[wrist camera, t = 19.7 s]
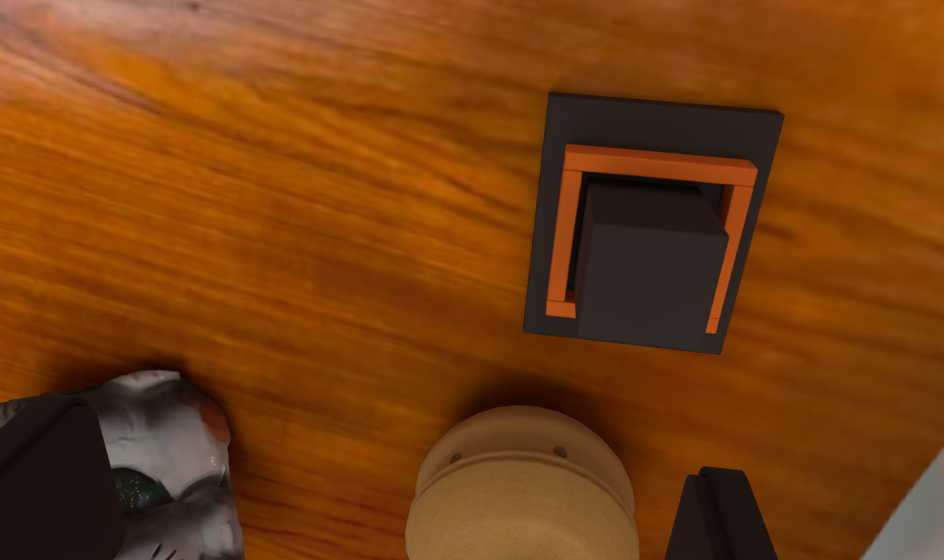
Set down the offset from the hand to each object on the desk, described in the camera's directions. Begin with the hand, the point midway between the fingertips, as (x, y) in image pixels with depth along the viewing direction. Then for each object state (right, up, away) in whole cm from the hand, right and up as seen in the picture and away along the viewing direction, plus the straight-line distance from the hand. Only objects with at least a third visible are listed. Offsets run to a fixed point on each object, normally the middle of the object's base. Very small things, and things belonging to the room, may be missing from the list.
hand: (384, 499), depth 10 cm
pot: (+5, -7, +28) cm, 29 cm away
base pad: (+9, +6, +21) cm, 24 cm away
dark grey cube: (+9, +6, +20) cm, 23 cm away
